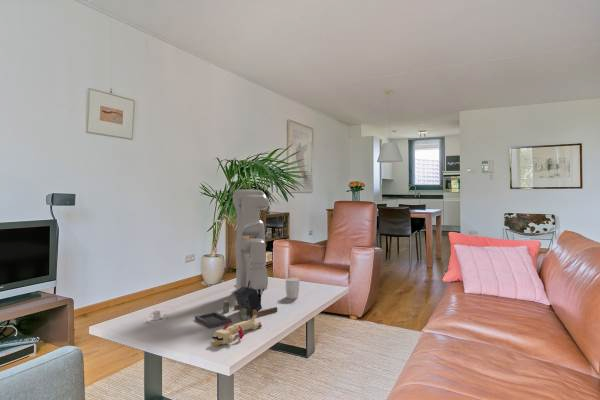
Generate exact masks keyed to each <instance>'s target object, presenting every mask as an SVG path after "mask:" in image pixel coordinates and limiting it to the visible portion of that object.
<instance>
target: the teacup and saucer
mask: <svg viewBox="0 0 600 400" xmlns="http://www.w3.org/2000/svg"><path fill="white" fill-rule="evenodd" d="M149 316H150V317H149V318H148V319H146V321H147V322H148V323H154V324H155V323H162V322H164V321H166V320H167V318H168V317H169V313H164V314H161V310H154V311H152V312H151V313H150V315H149ZM160 319H161V320H160ZM151 320H153V321H151Z"/></svg>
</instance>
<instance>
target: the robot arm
mask: <svg viewBox="0 0 600 400" xmlns="http://www.w3.org/2000/svg"><path fill="white" fill-rule="evenodd" d="M232 203H233V206H234V209H235V212H236V230H237V231H236V240H235V243H234V250H235V263H236V265H235V266H236V271H235V272H236V273H235V274H236V278H235V283H236V284H234V288H235V289H234V290H233V295H234V296H235V294H234V292H235V291H237V290H238V289H240V288H241V287H243V286H244V287H247V288H251V289H256V290H257V293H258V297H259V300H260V303H261V304H262V295H263V292H264V291H266V290H267V289H268V285H269V278H268V277H269V276H268V270H267V267H266V266H267V265H268V263H267V262H266V248H267V247H266V236H265V235H266V234H265V233H266V231H265V229H266V228H265V224H264V221H262V220H260V215H259V211H266V210H267V209H268V207H269V201H268V197H267V196H266V194H265V192H263V190H261V189H236V190H234V191H233V193H232ZM243 237H248V238H243ZM249 237H252V238H249Z"/></svg>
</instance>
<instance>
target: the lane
mask: <svg viewBox="0 0 600 400" xmlns="http://www.w3.org/2000/svg"><path fill="white" fill-rule="evenodd" d="M222 307H223V309H222V311H223V312H222V313H229V312H230V301H229V300H223V303H222ZM233 308H234V310H235V311H237V310H239V306H238V304H234V307H233ZM239 312H240V313H239V318H240V322H243V321H247V314H248V313H247V309H245V308H242V309H240V310H239ZM277 312H278V307H277V306H275V307H270V308H267V309H266V308H265V309H261V310H259V311H258V312H257V313H258V315H257V317H256V318H258V317H259V318H260V317H262V316H265V315H270V314H273V313H277ZM253 316H254V314H253V313H252V315H251V317H253Z"/></svg>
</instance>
